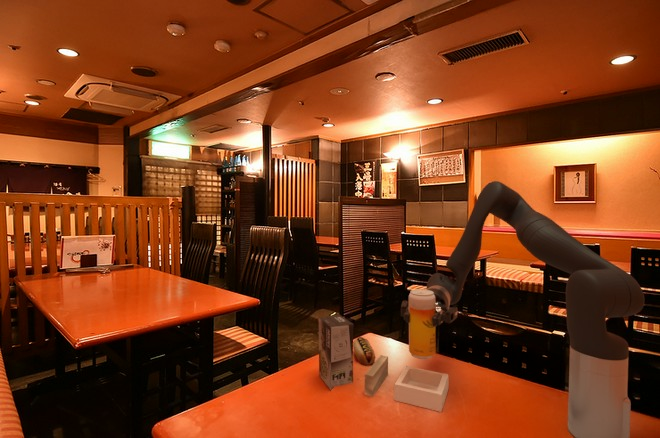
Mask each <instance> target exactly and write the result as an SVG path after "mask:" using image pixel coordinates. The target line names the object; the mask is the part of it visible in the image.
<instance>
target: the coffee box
mask: <svg viewBox="0 0 660 438" xmlns="http://www.w3.org/2000/svg"><path fill="white" fill-rule="evenodd" d="M318 373H319V374H318V376H319V377H320V378H321V380H322V381H323V382H324V384H325V385H326V386H327V387H328V389H330V391H333V390H334V388H336V387H338V386H339V387H340V386H345V385H348V384H349V385H350V384H353V383H354V323H353V322H351V321H350V320H349V319H347V318H346V317H344V316H342V315H341V314H332V315H327V316H321V317H320V316H319V317H318Z"/></svg>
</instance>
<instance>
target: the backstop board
mask: <svg viewBox="0 0 660 438" xmlns="http://www.w3.org/2000/svg"><path fill="white" fill-rule="evenodd" d="M388 376H389V356H386V355H379V357H378V358H377V359H375V361H374V364H373V365H370V368H369V369H367V371H366V373H364V395H365V396H368V397H372V398H373V397H374V396H375V394H376V393H377V391H379V390H380V389H379V388H380V387H381V386H382V385H383V383H384V381H385V380H386V379H387V377H388Z"/></svg>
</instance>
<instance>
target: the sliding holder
mask: <svg viewBox="0 0 660 438" xmlns="http://www.w3.org/2000/svg"><path fill="white" fill-rule="evenodd" d="M448 392H449V374H448V373H443V372H441V371H440V372H439V371H438V372H437V371H434V370H429V369H423V368H419V367H414V366H410V365H405V367H404V369H402V372H401V373H400V375H399V376H398V377H397V379H396V381H395V383H394V396H393V397H394V399H393V400H394V401H396V402H401V403H404V404H408V405H411V406H416V407H420V408H424V409H427V410H431V411H436V412H440V413H442V411H443V407H444V405H445V401H446V399H447V395H448Z"/></svg>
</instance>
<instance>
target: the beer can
mask: <svg viewBox="0 0 660 438" xmlns="http://www.w3.org/2000/svg"><path fill="white" fill-rule="evenodd" d="M408 302H409V323H408V352H409V353H410V355H411V356H412V357H414V359H415V358H416V359H419V360H429V359H432V358H434V356H435V355H436V353H437V352H436V349H437V348H436V347H437V346H436V344H437V343H436V341H437V340H436V338H437V337H436V333H437V332H436V327H437V326H436V327H433V316H434V315H435V295H434V292H433V291H430V290H426V288H425V289H423V288H416V289H412V290H410V293H409V295H408Z"/></svg>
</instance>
